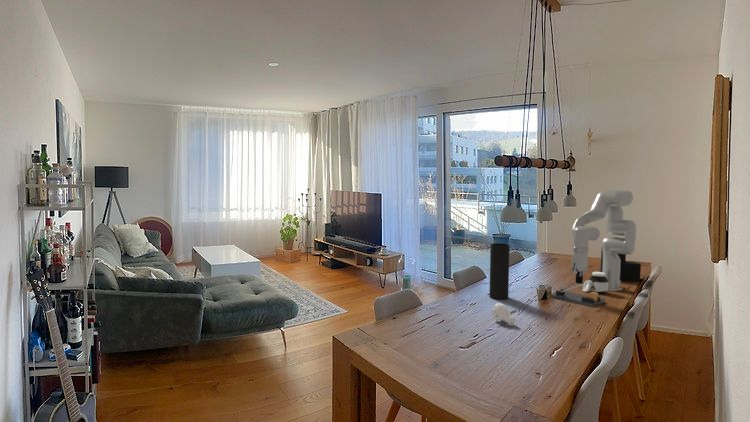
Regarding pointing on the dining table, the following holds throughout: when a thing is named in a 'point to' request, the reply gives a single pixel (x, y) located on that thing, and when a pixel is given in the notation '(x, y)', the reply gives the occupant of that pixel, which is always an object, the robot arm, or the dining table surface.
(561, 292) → the strap
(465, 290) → the dining table surface
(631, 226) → the robot arm
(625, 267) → the bookend
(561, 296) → the plate
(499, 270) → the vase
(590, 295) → the block
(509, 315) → the white rounded lump
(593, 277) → the spread jar
